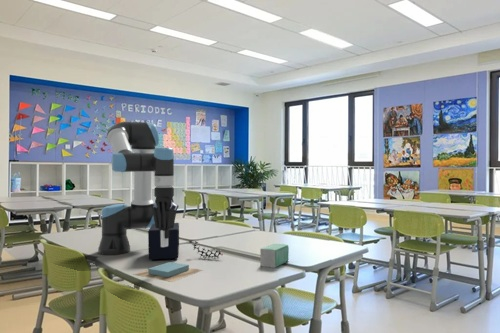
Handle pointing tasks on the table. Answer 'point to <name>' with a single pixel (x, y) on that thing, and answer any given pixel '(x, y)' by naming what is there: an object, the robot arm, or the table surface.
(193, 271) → the mat
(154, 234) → the speaker
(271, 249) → the box
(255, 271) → the table surface
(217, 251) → the molecular model
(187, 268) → the tile
